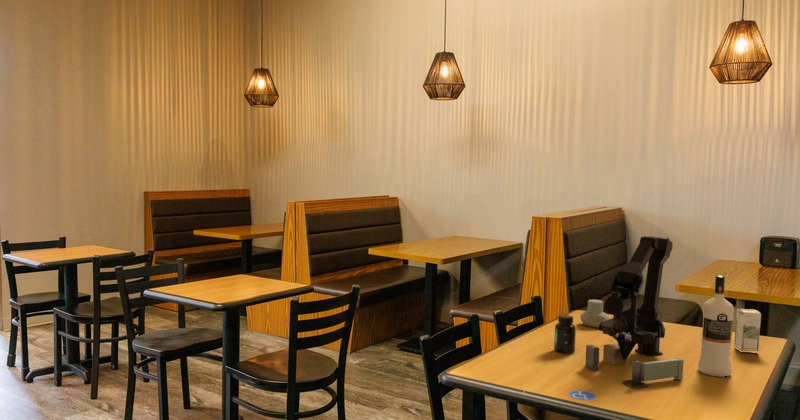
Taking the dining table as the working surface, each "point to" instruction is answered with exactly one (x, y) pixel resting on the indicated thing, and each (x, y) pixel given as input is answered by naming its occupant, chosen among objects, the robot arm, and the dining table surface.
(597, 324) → the air freshener
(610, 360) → the reddish brown cube
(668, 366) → the grey slab
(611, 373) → the dining table surface
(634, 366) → the hinge post
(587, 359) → the latch stile
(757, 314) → the syrup box
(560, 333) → the supplement bottle
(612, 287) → the robot arm
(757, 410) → the dining table surface
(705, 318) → the vodka
